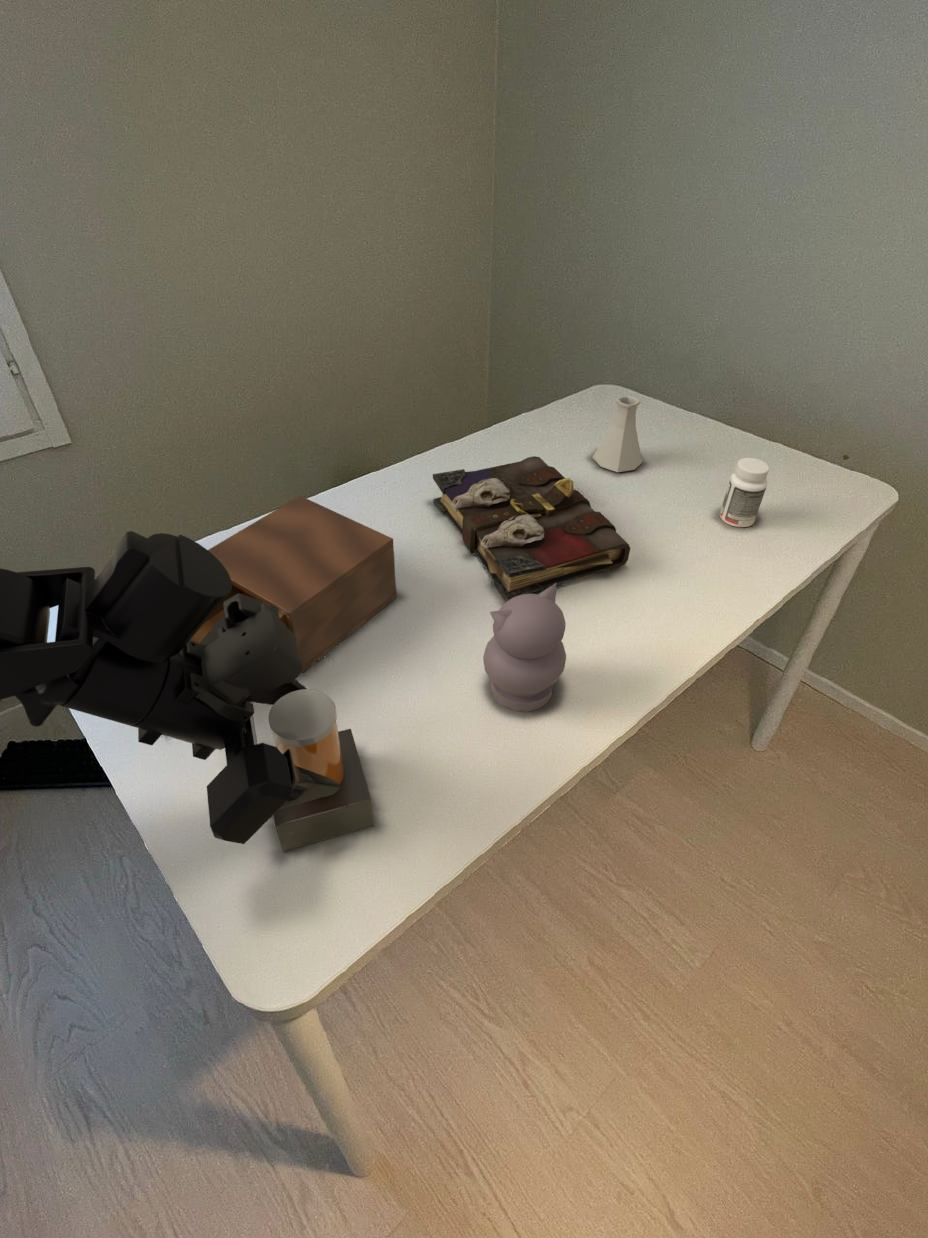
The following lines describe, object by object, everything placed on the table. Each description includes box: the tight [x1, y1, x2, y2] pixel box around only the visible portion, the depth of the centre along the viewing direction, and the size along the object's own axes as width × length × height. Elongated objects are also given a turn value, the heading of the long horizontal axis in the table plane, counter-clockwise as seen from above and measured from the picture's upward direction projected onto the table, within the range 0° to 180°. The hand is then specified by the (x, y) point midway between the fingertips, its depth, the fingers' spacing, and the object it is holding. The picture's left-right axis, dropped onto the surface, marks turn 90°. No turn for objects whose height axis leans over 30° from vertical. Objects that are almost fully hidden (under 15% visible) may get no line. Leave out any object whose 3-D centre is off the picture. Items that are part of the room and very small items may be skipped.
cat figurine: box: [482, 583, 567, 713], centre depth 70 cm, size 8×8×12 cm
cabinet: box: [207, 495, 397, 674], centre depth 80 cm, size 16×15×9 cm
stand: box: [272, 728, 375, 853], centre depth 62 cm, size 8×8×4 cm
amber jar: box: [267, 688, 344, 784], centre depth 58 cm, size 5×5×8 cm
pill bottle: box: [719, 457, 770, 528], centre depth 95 cm, size 5×5×8 cm
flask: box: [592, 395, 643, 473], centre depth 106 cm, size 7×7×10 cm
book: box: [432, 455, 631, 603], centre depth 92 cm, size 26×18×7 cm
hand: (325, 744), depth 58 cm, fingers open, 9 cm apart
